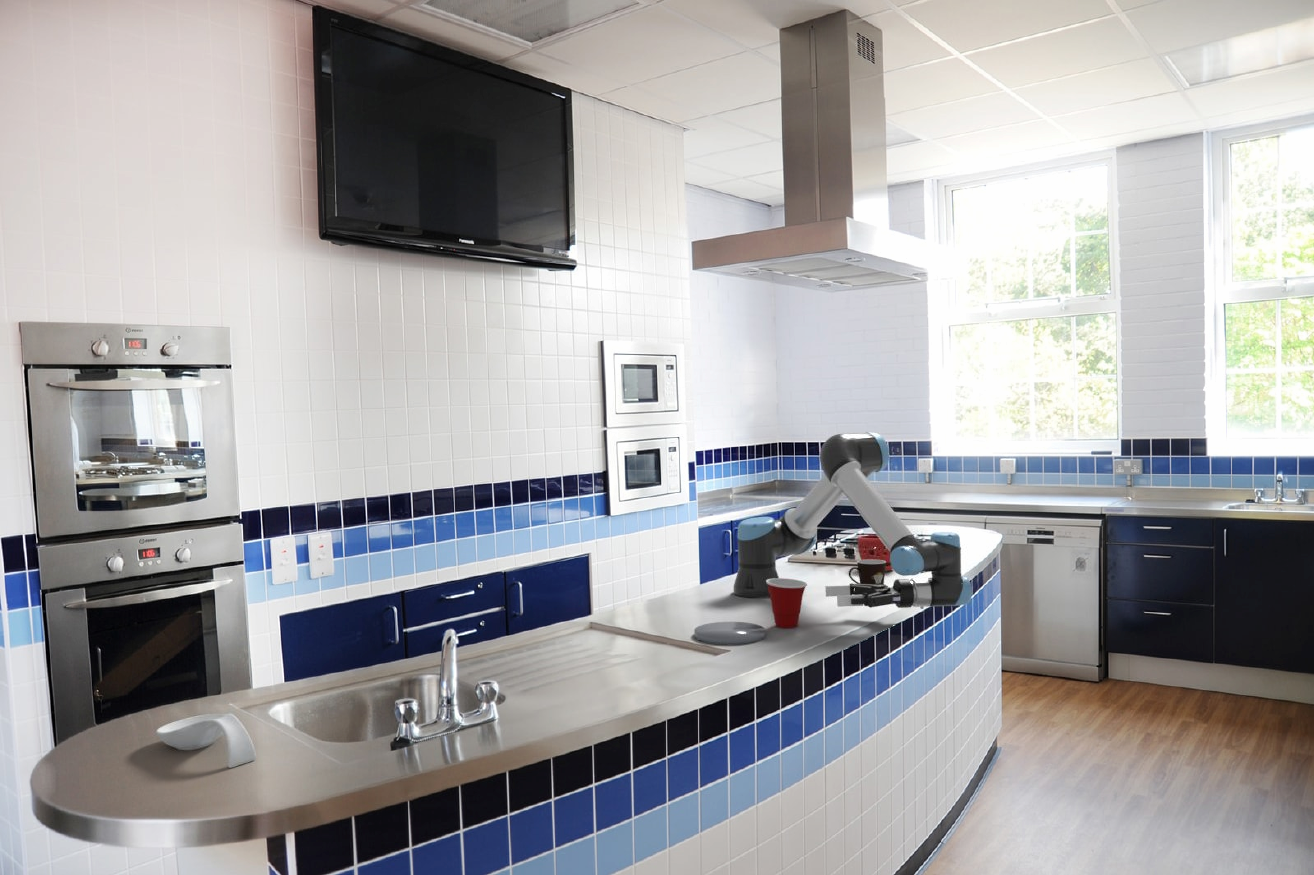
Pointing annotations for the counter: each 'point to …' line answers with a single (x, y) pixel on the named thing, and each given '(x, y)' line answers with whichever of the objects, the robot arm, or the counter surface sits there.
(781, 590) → the plastic cup
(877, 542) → the plant pot
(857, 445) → the robot arm
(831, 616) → the counter surface
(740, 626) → the gray round coaster
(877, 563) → the coffee mug
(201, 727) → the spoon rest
